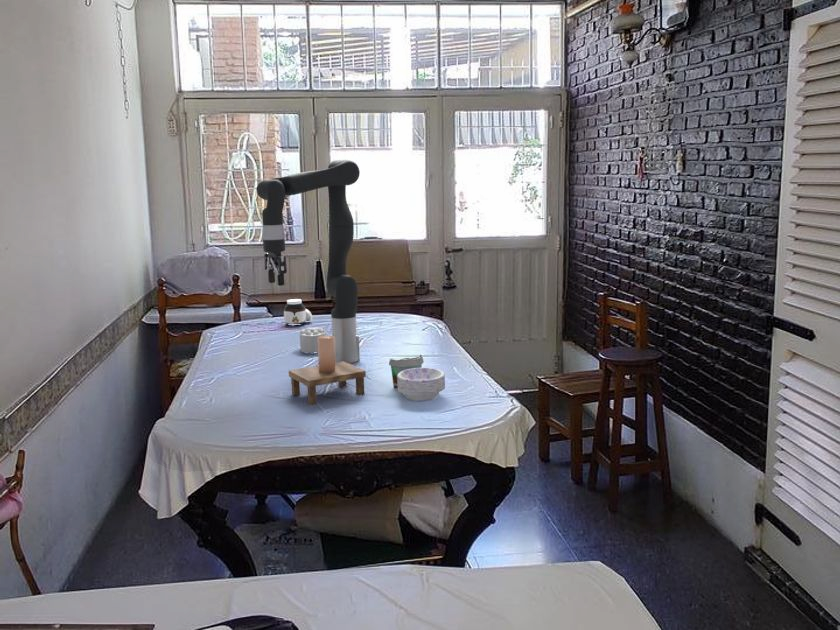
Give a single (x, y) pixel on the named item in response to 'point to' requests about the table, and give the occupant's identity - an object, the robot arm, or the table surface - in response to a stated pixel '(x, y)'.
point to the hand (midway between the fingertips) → (276, 284)
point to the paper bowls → (421, 383)
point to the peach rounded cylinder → (326, 353)
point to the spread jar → (296, 312)
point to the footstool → (326, 378)
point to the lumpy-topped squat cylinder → (310, 339)
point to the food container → (404, 366)
